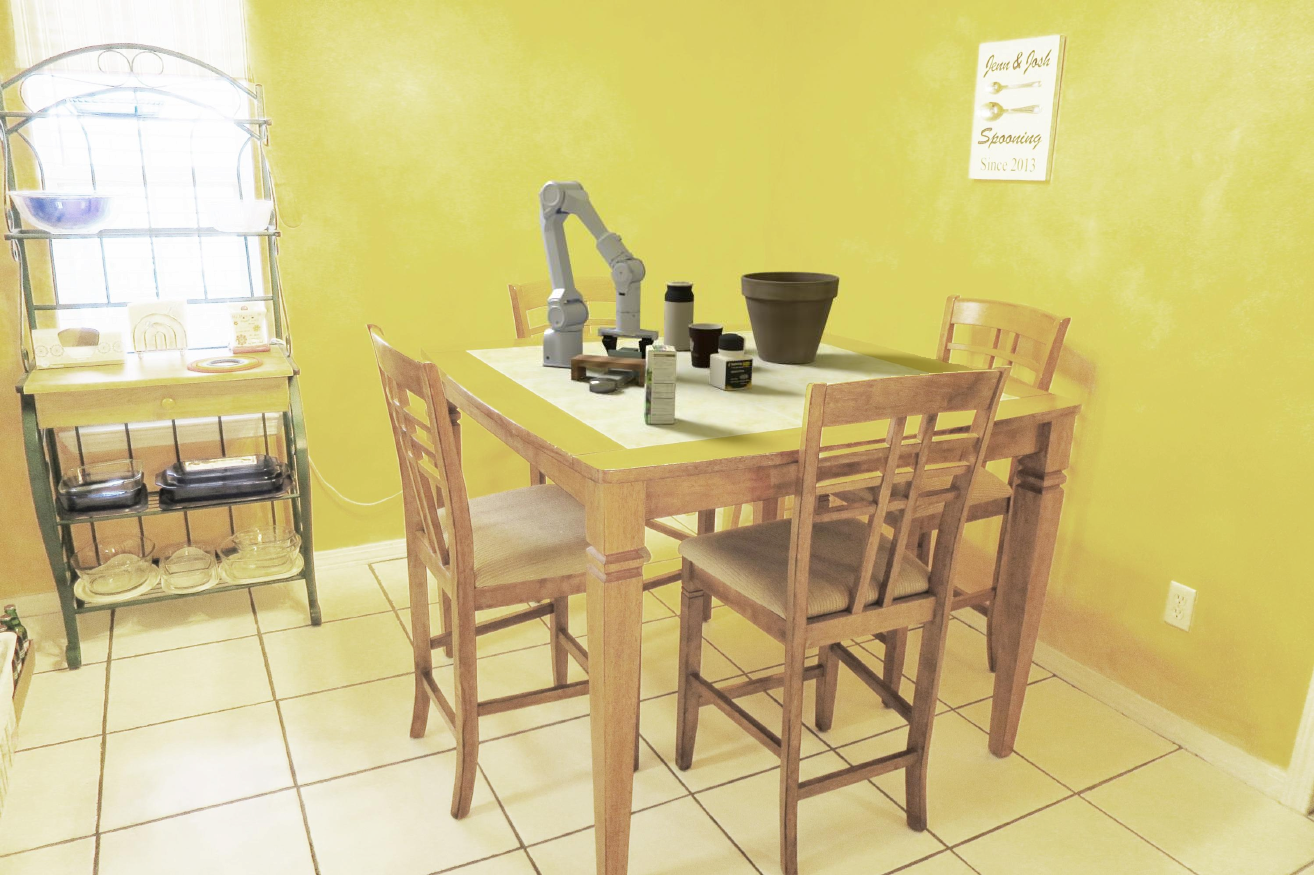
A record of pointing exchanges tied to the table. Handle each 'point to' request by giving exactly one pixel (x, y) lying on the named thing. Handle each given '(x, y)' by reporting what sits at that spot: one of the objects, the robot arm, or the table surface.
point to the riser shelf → (606, 365)
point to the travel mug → (678, 314)
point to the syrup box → (660, 384)
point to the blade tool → (621, 374)
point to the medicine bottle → (731, 364)
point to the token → (602, 385)
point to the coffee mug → (704, 343)
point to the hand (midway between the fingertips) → (627, 367)
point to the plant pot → (788, 312)
